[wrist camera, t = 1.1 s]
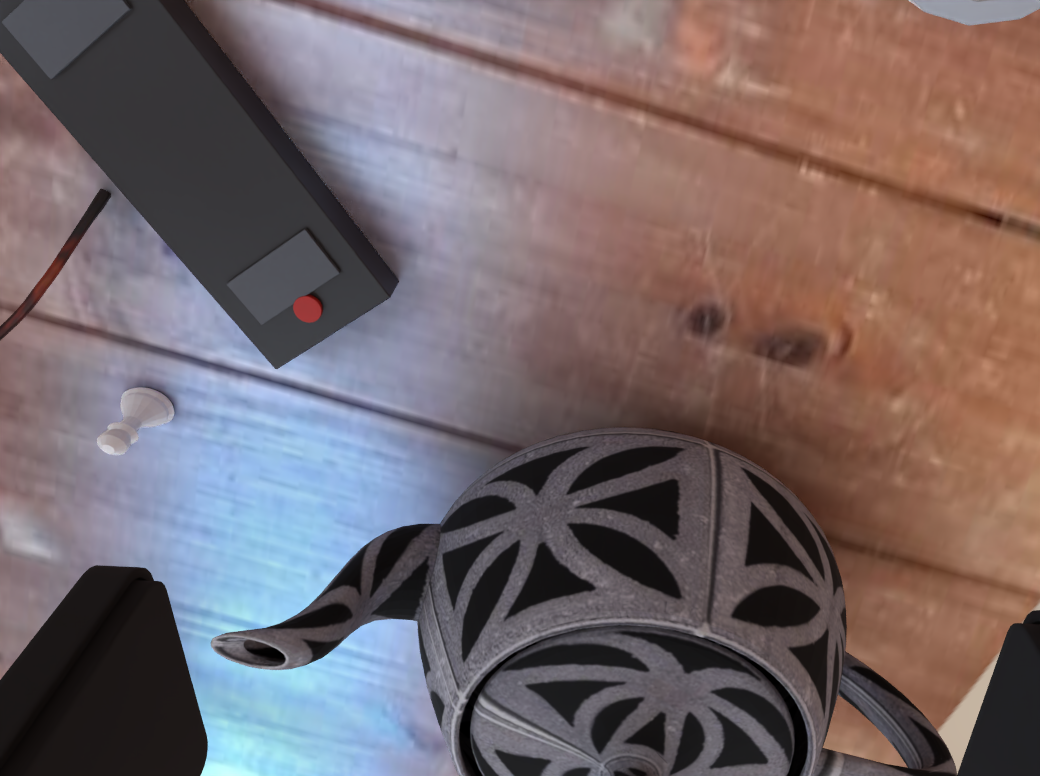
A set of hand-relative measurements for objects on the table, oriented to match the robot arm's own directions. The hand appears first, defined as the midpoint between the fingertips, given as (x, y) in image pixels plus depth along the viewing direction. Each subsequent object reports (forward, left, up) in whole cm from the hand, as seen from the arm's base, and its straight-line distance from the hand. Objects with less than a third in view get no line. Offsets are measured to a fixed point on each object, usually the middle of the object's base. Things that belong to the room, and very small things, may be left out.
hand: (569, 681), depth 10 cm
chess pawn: (-1, -24, -28) cm, 37 cm away
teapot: (+18, -10, -28) cm, 34 cm away
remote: (-8, -13, -27) cm, 31 cm away
